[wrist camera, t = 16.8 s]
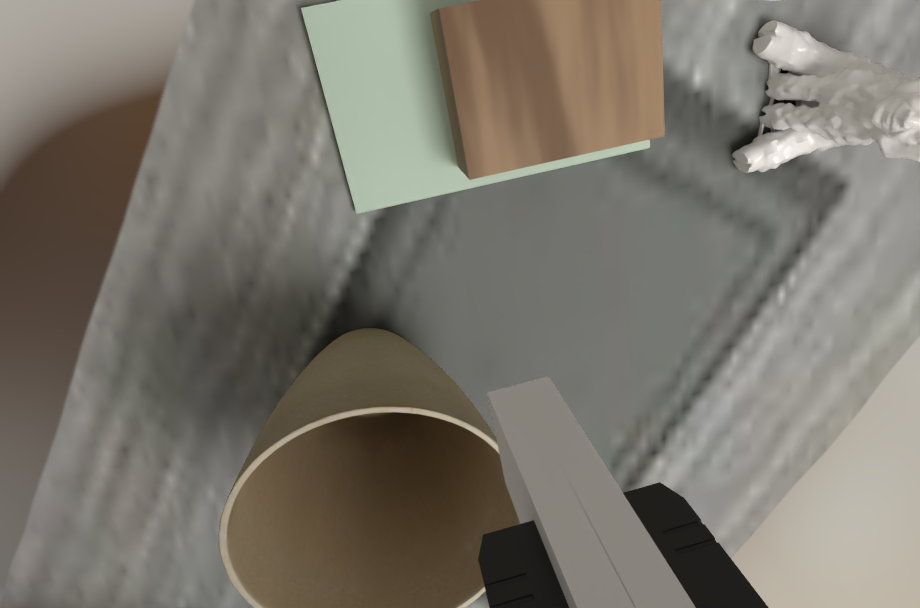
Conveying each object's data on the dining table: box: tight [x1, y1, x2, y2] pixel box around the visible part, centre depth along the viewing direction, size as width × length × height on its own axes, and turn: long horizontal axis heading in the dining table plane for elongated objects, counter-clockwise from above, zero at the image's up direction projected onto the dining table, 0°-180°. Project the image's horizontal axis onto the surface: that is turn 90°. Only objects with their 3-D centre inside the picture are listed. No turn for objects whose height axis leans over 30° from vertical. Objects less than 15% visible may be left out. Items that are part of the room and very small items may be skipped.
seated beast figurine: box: [732, 20, 920, 173], centre depth 34 cm, size 10×9×12 cm
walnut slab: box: [430, 0, 665, 180], centre depth 34 cm, size 4×9×12 cm
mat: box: [301, 0, 650, 214], centre depth 36 cm, size 20×12×1 cm, turn 100°
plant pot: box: [219, 328, 520, 608], centre depth 35 cm, size 15×15×16 cm
